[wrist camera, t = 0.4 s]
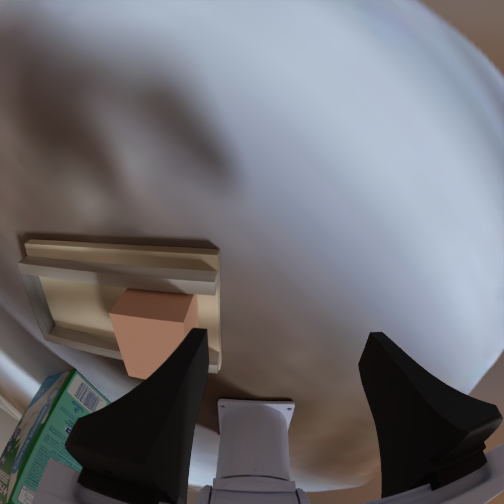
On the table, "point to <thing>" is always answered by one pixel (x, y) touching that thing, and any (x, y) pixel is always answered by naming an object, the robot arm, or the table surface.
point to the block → (151, 327)
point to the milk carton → (45, 434)
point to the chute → (114, 288)
